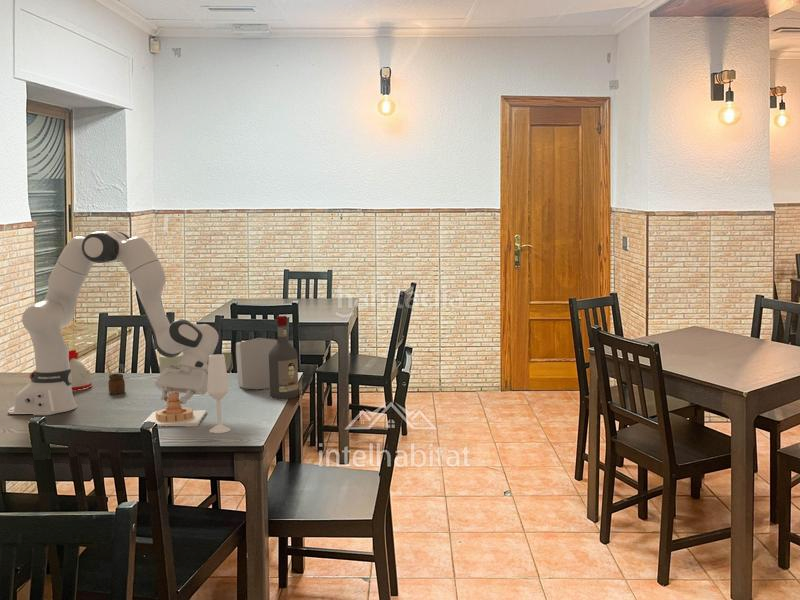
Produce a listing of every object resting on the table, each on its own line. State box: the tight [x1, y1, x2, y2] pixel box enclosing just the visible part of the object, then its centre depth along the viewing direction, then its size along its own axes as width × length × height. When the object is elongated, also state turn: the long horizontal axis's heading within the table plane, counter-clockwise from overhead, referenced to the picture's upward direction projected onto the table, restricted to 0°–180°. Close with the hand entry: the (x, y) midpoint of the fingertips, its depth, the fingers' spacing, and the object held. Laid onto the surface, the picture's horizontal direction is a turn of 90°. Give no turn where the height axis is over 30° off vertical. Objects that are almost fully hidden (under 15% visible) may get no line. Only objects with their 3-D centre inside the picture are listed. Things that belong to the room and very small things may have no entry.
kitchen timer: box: [68, 349, 93, 390], centre depth 352 cm, size 14×14×15 cm
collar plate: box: [140, 406, 207, 428], centre depth 298 cm, size 18×18×3 cm
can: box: [158, 353, 183, 375], centre depth 357 cm, size 9×9×12 cm
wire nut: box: [166, 392, 182, 414], centre depth 297 cm, size 5×5×8 cm
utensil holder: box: [106, 362, 126, 395], centre depth 341 cm, size 6×6×12 cm
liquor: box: [269, 315, 299, 400], centre depth 329 cm, size 9×9×30 cm
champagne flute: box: [207, 354, 231, 434], centre depth 282 cm, size 7×7×24 cm
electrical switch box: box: [235, 337, 278, 390], centre depth 350 cm, size 15×15×20 cm
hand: (172, 401), depth 297 cm, fingers open, 7 cm apart
